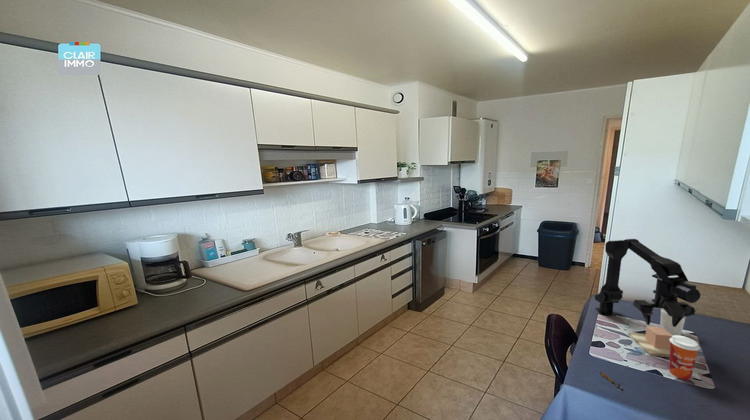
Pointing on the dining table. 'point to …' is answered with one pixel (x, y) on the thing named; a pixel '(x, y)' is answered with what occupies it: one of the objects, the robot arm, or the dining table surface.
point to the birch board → (649, 346)
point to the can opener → (610, 380)
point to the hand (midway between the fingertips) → (660, 325)
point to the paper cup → (682, 356)
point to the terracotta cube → (658, 337)
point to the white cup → (667, 324)
